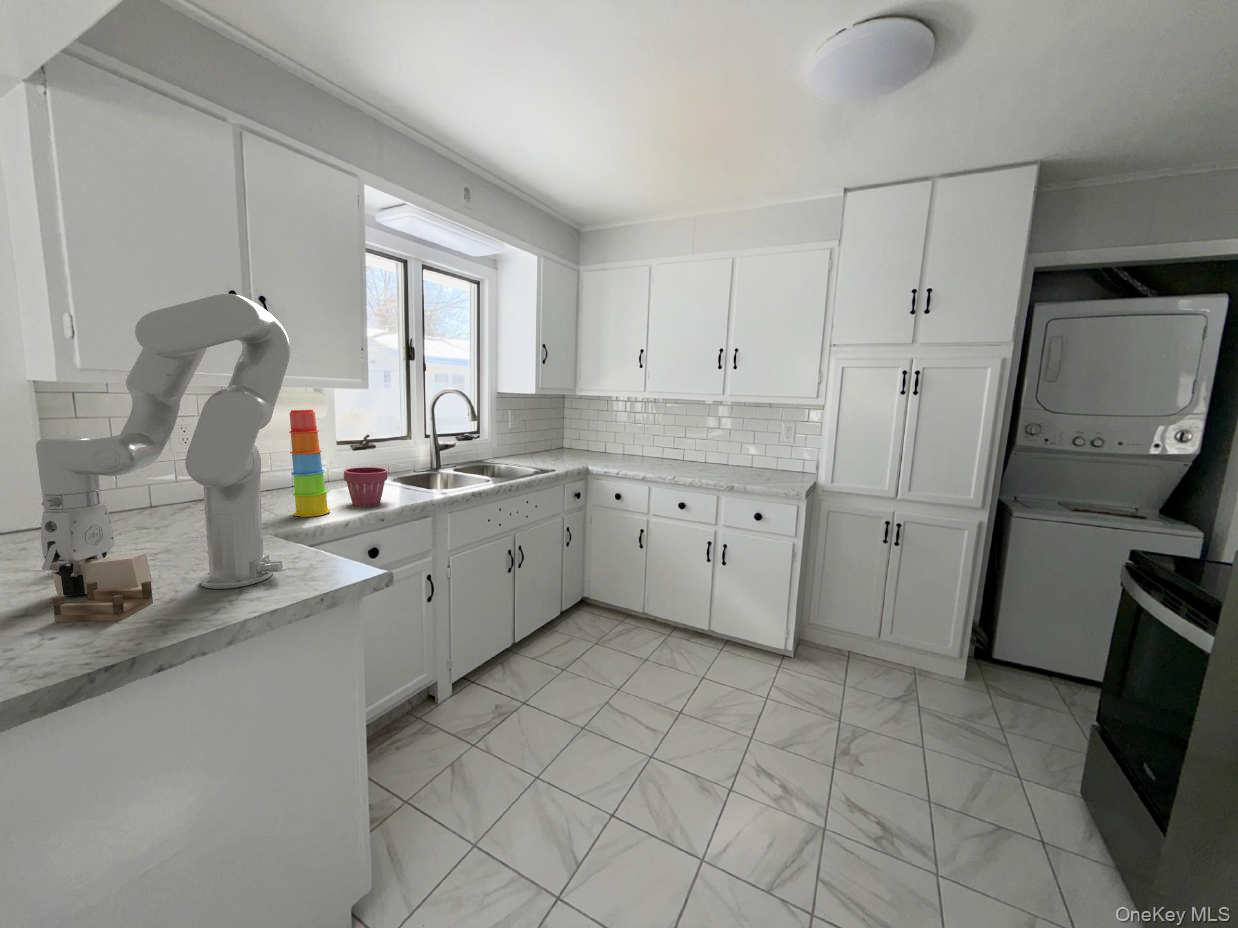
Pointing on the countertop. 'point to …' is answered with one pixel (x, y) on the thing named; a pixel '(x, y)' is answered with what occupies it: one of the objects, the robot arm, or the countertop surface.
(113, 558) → the clay bar
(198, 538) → the countertop surface
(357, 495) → the plant pot
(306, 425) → the stacking cups
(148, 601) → the rack
